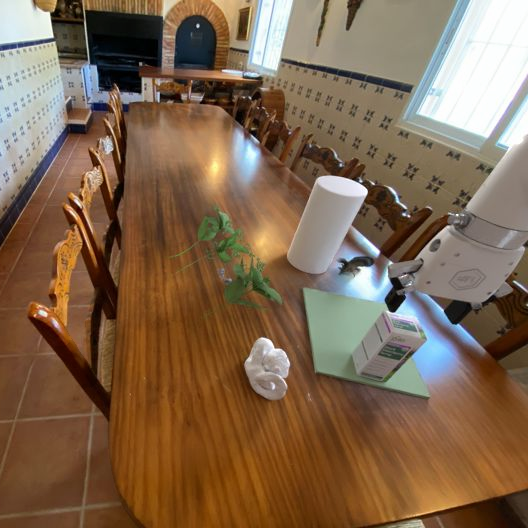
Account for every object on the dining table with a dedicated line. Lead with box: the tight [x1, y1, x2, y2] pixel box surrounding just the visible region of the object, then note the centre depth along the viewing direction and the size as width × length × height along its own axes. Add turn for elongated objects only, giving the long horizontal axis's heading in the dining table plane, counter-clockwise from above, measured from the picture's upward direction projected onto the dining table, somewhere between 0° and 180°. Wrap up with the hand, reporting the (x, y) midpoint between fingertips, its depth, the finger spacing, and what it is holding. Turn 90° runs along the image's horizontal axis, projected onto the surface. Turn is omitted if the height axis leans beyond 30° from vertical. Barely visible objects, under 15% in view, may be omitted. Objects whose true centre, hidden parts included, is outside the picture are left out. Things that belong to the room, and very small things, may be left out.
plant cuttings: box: [168, 205, 283, 326], centre depth 74 cm, size 35×17×22 cm
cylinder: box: [286, 175, 368, 275], centre depth 84 cm, size 12×12×25 cm
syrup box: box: [352, 310, 428, 382], centre depth 58 cm, size 6×6×14 cm
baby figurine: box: [243, 337, 291, 401], centre depth 59 cm, size 9×12×8 cm
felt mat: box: [302, 286, 432, 400], centre depth 70 cm, size 22×26×1 cm
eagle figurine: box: [336, 255, 375, 278], centre depth 87 cm, size 8×7×9 cm
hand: (418, 312), depth 51 cm, fingers open, 9 cm apart
